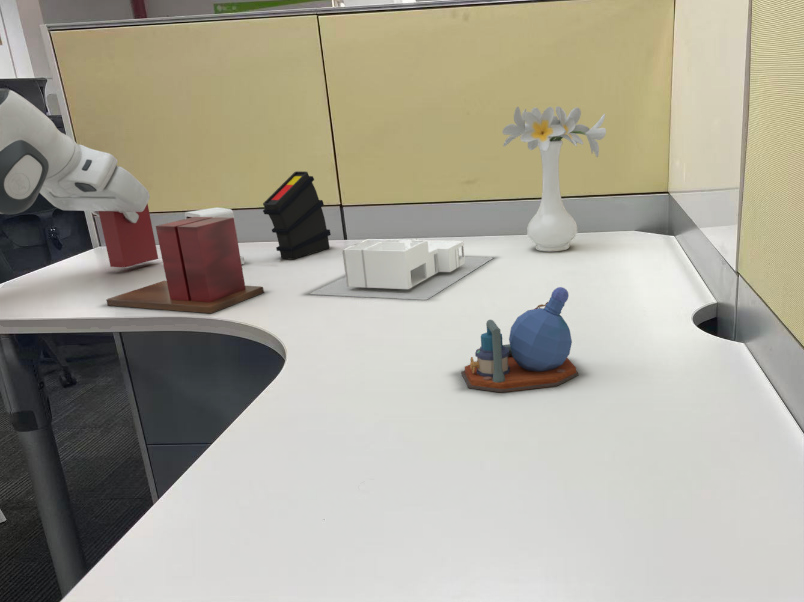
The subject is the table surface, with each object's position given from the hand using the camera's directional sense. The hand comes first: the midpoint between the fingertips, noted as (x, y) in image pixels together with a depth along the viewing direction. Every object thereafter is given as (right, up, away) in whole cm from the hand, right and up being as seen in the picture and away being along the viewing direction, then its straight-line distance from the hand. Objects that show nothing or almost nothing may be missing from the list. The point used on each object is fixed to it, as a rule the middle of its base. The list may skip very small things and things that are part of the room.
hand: (124, 219), depth 145 cm
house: (+53, -12, -12) cm, 55 cm away
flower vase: (+78, -5, +4) cm, 78 cm away
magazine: (+30, -5, +8) cm, 31 cm away
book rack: (+20, -16, -21) cm, 33 cm away
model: (+71, -29, -59) cm, 96 cm away
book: (0, -7, +3) cm, 8 cm away
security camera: (+17, -8, +2) cm, 19 cm away
